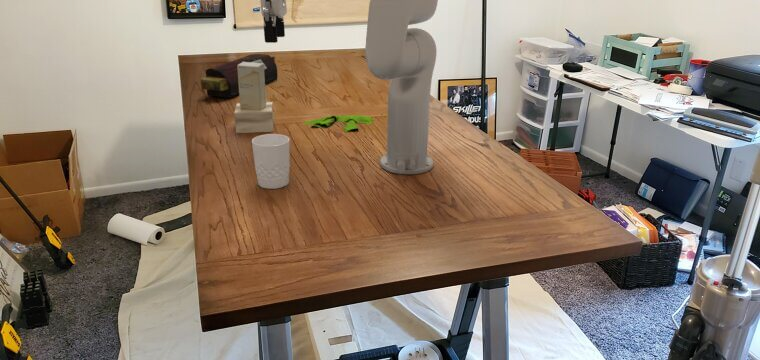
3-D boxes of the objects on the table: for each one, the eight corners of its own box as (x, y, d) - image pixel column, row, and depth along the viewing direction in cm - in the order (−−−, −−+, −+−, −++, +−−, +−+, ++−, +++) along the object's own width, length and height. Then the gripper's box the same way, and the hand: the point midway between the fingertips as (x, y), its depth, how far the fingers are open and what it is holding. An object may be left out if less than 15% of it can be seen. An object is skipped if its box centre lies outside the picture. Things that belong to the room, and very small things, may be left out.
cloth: (382, 119, 170) (382, 111, 169) (360, 142, 150) (360, 134, 149) (319, 113, 175) (319, 105, 174) (289, 134, 155) (289, 126, 154)
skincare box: (239, 108, 155) (235, 65, 150) (246, 103, 159) (242, 61, 154) (261, 110, 154) (257, 66, 149) (267, 105, 158) (264, 62, 153)
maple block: (273, 132, 156) (271, 111, 153) (236, 133, 154) (234, 112, 152) (273, 121, 165) (272, 101, 162) (238, 123, 163) (236, 102, 161)
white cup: (275, 173, 128) (272, 131, 124) (299, 182, 124) (297, 139, 120) (247, 183, 122) (244, 140, 119) (271, 193, 118) (268, 148, 114)
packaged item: (223, 103, 182) (220, 72, 178) (198, 100, 185) (195, 70, 181) (284, 78, 216) (283, 52, 212) (262, 75, 219) (260, 50, 215)
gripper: (278, -28, 134) (283, 44, 141) (291, -31, 150) (294, 34, 157) (247, -28, 134) (253, 44, 141) (263, -31, 150) (268, 34, 157)
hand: (275, 39), depth 149 cm, fingers open, 9 cm apart
